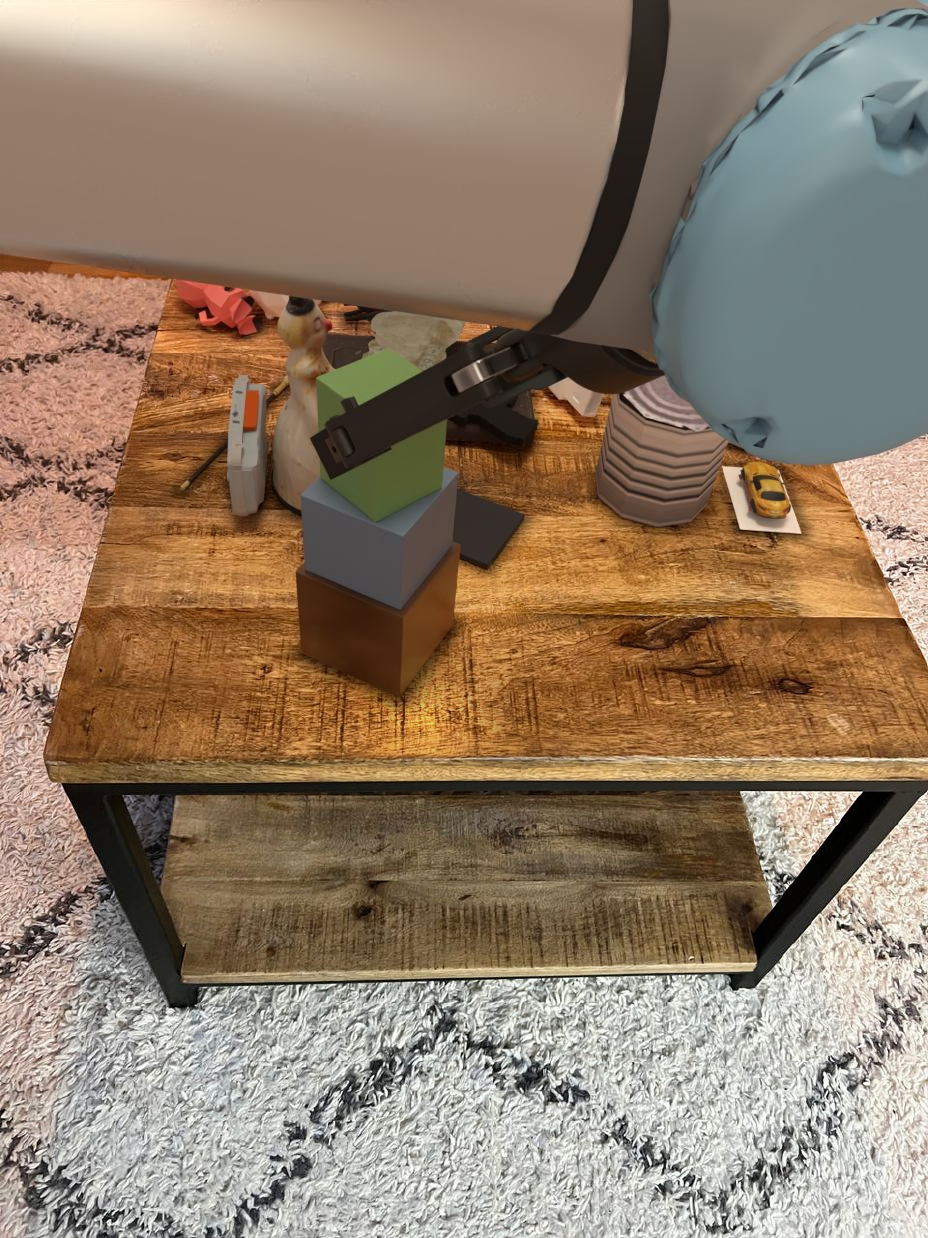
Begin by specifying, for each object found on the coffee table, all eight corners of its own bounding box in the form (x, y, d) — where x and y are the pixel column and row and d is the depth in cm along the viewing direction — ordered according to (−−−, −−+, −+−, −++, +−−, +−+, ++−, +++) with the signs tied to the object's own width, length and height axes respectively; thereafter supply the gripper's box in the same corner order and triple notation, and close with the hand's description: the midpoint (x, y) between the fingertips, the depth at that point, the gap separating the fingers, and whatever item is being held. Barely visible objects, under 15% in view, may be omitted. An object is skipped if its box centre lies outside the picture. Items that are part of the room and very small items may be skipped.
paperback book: (317, 351, 106) (316, 332, 104) (522, 362, 108) (524, 344, 106) (304, 436, 95) (303, 417, 93) (532, 447, 97) (535, 428, 95)
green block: (442, 488, 66) (450, 388, 60) (375, 523, 63) (376, 421, 57) (386, 446, 69) (388, 347, 63) (319, 478, 66) (315, 377, 60)
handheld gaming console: (240, 433, 95) (232, 362, 89) (270, 433, 95) (264, 363, 89) (231, 530, 85) (221, 457, 79) (265, 529, 85) (257, 457, 79)
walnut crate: (300, 653, 76) (294, 571, 69) (359, 585, 81) (359, 503, 75) (399, 698, 73) (403, 617, 67) (453, 625, 79) (461, 544, 73)
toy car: (773, 472, 96) (781, 453, 95) (792, 526, 90) (801, 507, 89) (733, 469, 96) (740, 450, 95) (750, 523, 90) (757, 504, 89)
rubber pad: (407, 537, 86) (408, 532, 86) (448, 490, 91) (449, 485, 91) (487, 569, 84) (487, 564, 84) (524, 519, 89) (525, 514, 89)
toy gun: (521, 441, 92) (429, 408, 94) (520, 449, 92) (429, 417, 95) (572, 377, 100) (486, 349, 103) (570, 386, 101) (485, 357, 103)
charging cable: (488, 251, 119) (464, 247, 117) (617, 376, 97) (590, 374, 96) (477, 290, 122) (454, 287, 120) (600, 420, 100) (574, 419, 99)
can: (654, 442, 99) (681, 338, 90) (732, 503, 93) (770, 398, 84) (569, 475, 94) (589, 368, 85) (646, 542, 88) (677, 434, 79)
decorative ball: (257, 232, 114) (249, 331, 114) (248, 190, 104) (238, 298, 103) (332, 241, 115) (324, 339, 115) (330, 200, 105) (321, 307, 104)
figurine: (386, 519, 88) (390, 320, 73) (270, 522, 86) (250, 319, 72) (378, 443, 96) (380, 249, 81) (272, 444, 94) (255, 247, 80)
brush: (305, 353, 104) (177, 483, 88) (314, 358, 104) (187, 489, 88) (304, 358, 105) (176, 488, 88) (312, 363, 105) (186, 494, 88)
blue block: (304, 569, 69) (299, 494, 64) (361, 509, 75) (361, 435, 69) (400, 610, 67) (403, 536, 62) (452, 545, 72) (459, 471, 67)
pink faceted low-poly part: (257, 277, 103) (191, 227, 108) (209, 316, 102) (145, 264, 107) (277, 322, 110) (214, 273, 114) (233, 359, 108) (171, 308, 113)
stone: (437, 392, 94) (338, 373, 95) (435, 416, 96) (339, 397, 97) (468, 312, 104) (379, 295, 104) (466, 335, 106) (379, 318, 107)
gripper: (479, 473, 36) (274, 554, 54) (832, 289, 49) (571, 404, 67) (392, 285, 35) (211, 432, 53) (777, 146, 47) (526, 302, 65)
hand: (412, 416), depth 60 cm, fingers open, 13 cm apart
